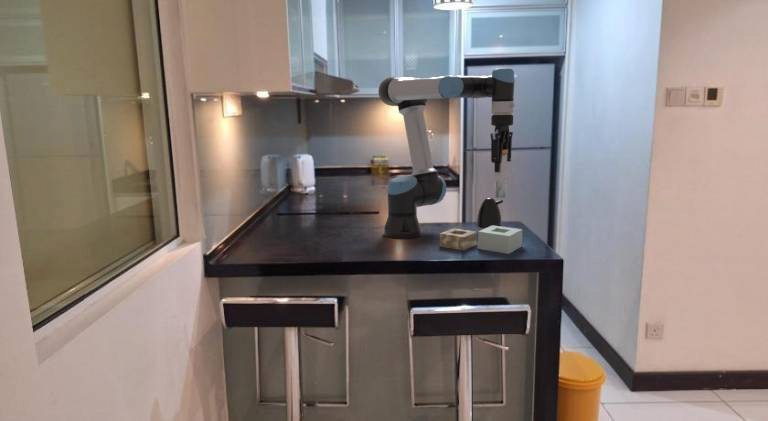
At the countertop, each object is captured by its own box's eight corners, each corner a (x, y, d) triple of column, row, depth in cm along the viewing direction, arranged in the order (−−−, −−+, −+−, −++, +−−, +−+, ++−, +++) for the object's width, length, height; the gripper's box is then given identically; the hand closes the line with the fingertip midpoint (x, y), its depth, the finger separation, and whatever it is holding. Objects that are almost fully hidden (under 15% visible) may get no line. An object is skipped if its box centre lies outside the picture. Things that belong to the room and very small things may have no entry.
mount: (440, 246, 193) (440, 233, 192) (453, 240, 201) (453, 228, 200) (464, 250, 187) (464, 237, 186) (476, 244, 195) (476, 231, 194)
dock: (477, 248, 189) (478, 231, 188) (492, 241, 199) (492, 225, 198) (508, 253, 182) (509, 236, 181) (521, 246, 192) (522, 229, 191)
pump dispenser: (502, 238, 204) (503, 200, 201) (475, 236, 206) (476, 199, 203) (501, 231, 214) (503, 195, 211) (476, 231, 216) (477, 195, 213)
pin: (492, 197, 186) (493, 149, 183) (497, 195, 190) (498, 148, 186) (503, 198, 184) (504, 150, 180) (508, 196, 187) (510, 149, 184)
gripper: (501, 114, 172) (500, 183, 177) (522, 113, 185) (520, 178, 190) (481, 114, 177) (480, 182, 181) (502, 113, 190) (501, 177, 194)
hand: (500, 180), depth 185 cm, fingers closed on pin, 4 cm apart
